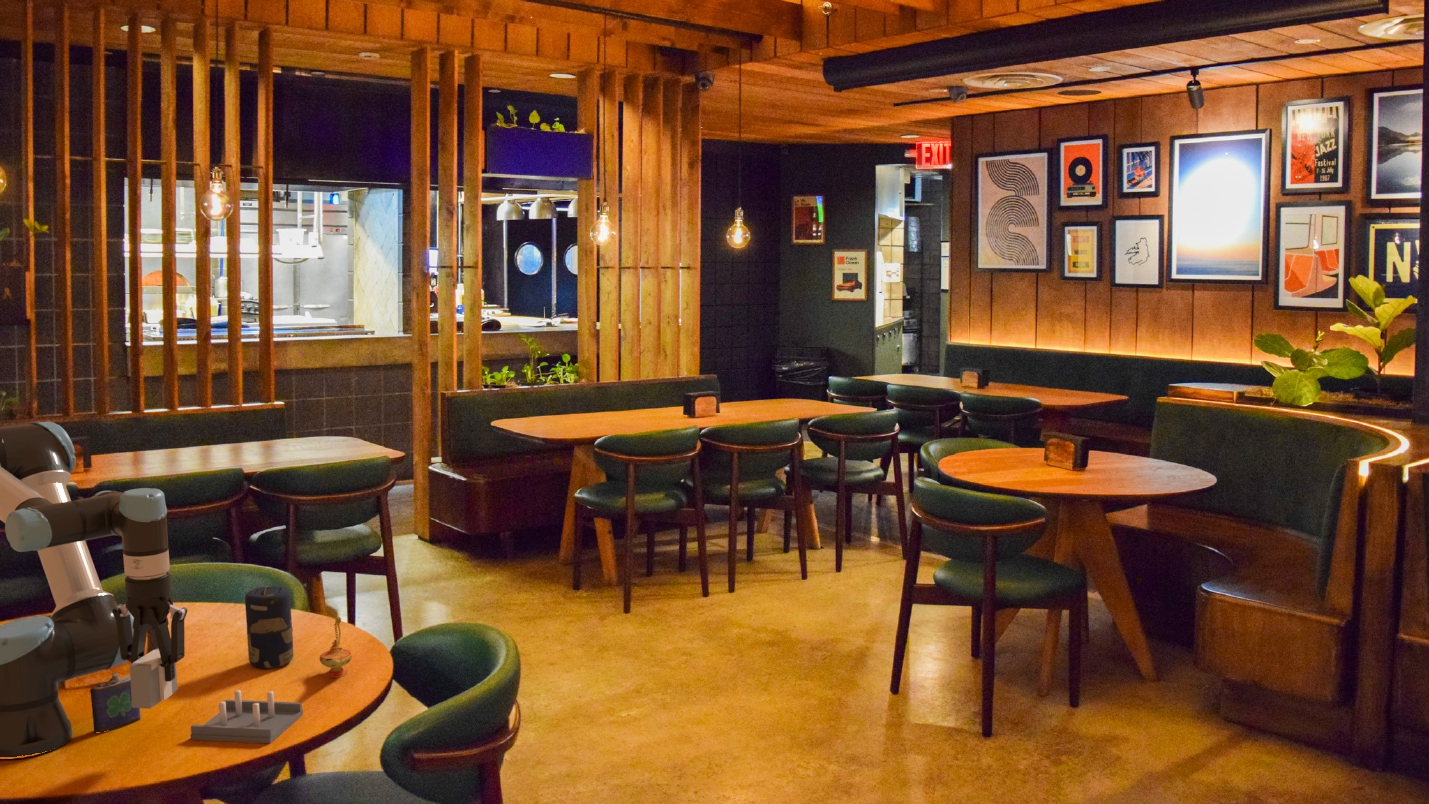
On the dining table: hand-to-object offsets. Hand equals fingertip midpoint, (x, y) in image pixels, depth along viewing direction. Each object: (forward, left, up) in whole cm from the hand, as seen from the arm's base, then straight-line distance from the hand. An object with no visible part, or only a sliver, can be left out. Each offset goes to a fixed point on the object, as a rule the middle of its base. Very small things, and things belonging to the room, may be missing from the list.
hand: (155, 696), depth 226 cm
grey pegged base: (+10, +14, -11) cm, 21 cm away
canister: (-2, +48, -12) cm, 49 cm away
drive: (0, 0, 0) cm, 0 cm away
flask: (-16, +12, -12) cm, 23 cm away
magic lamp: (+16, +42, -12) cm, 46 cm away
